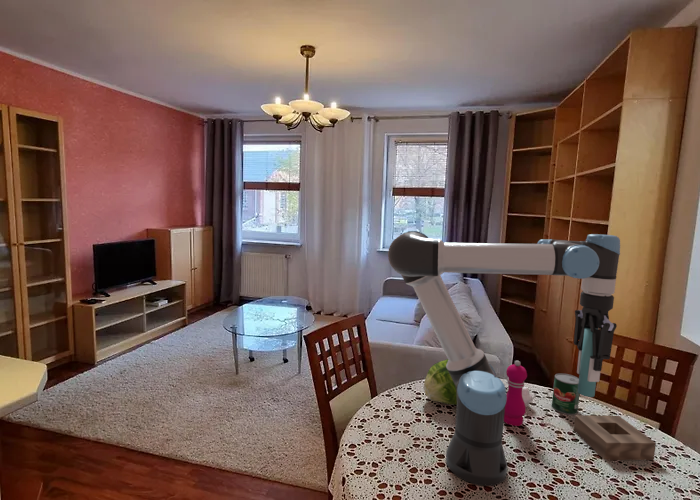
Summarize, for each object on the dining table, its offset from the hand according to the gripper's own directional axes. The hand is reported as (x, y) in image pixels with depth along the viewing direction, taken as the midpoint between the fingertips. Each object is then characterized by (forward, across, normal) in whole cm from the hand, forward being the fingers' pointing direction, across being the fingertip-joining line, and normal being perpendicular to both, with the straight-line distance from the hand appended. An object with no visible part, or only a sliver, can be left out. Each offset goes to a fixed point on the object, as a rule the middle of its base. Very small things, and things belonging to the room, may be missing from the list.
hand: (587, 377), depth 106 cm
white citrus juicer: (+23, +27, +3) cm, 35 cm away
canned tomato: (+23, +25, -11) cm, 36 cm away
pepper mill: (+23, +17, +11) cm, 31 cm away
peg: (+5, 0, 0) cm, 5 cm away
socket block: (+23, +5, -13) cm, 27 cm away
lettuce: (+23, +29, +27) cm, 46 cm away
